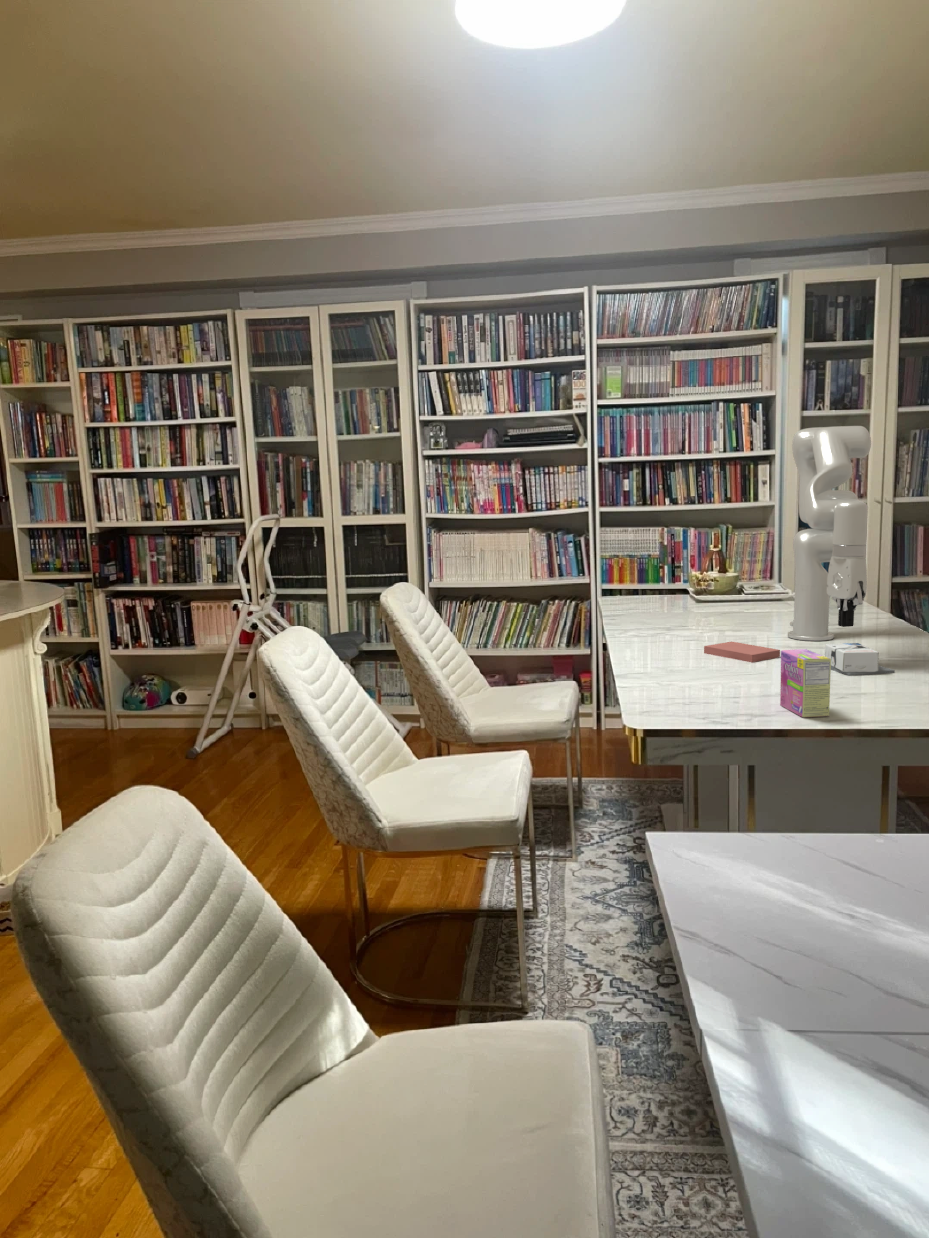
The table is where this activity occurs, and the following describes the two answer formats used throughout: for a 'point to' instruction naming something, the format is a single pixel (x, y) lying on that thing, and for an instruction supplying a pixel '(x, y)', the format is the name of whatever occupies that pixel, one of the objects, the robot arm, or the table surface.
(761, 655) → the hardcover book
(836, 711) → the table surface
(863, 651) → the ink box
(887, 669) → the slate mat
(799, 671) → the box
